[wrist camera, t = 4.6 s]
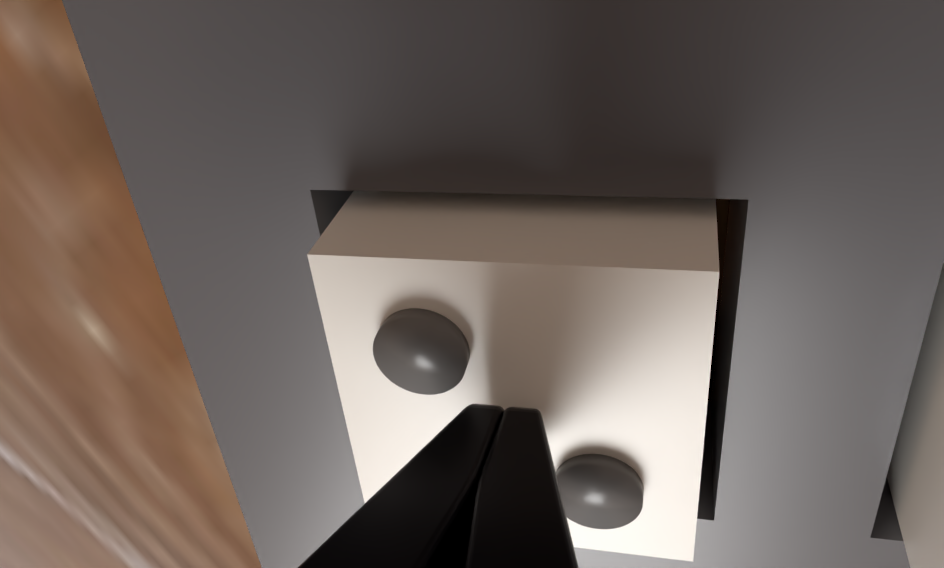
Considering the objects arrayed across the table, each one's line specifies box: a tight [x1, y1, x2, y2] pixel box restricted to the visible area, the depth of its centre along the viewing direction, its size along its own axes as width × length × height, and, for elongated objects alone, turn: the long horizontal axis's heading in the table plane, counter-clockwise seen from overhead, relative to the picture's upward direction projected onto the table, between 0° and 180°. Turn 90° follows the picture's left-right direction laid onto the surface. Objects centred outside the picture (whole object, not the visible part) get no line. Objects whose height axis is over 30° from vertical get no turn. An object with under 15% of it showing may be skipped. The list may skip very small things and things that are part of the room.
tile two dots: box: [307, 191, 719, 562], centre depth 11 cm, size 4×4×3 cm
